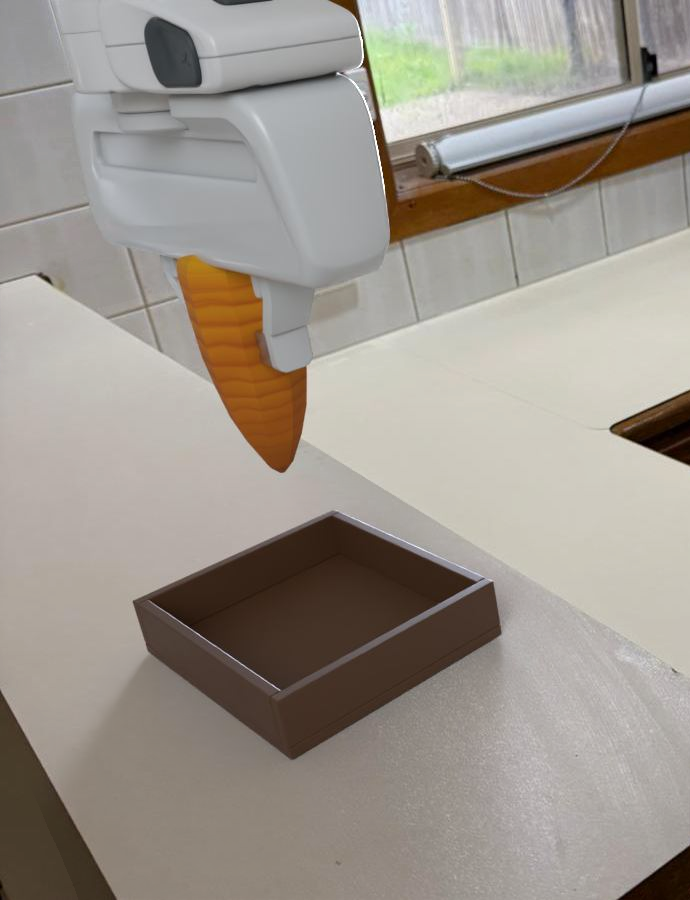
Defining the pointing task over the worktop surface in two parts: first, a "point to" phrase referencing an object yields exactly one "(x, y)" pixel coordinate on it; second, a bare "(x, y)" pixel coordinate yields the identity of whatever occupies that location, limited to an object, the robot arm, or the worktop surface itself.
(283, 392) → the carrot
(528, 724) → the worktop surface
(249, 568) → the tray
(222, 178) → the robot arm
